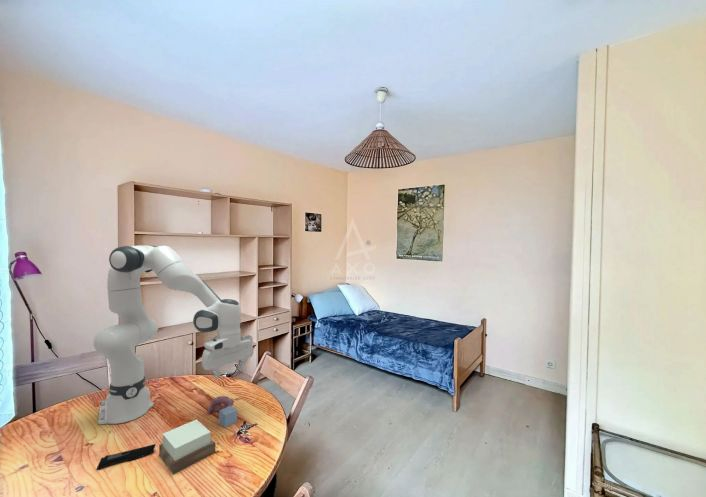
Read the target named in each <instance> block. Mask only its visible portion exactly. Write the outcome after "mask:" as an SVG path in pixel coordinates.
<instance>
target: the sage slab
mask: <svg viewBox="0 0 706 497" xmlns="http://www.w3.org/2000/svg"><path fill="white" fill-rule="evenodd" d="M210 438H211V431H210V430H209V429H208V428H207V427H206V426H204V424H203V423H201V422H200V421H199V420H198V419H197V418H196V419H195V420H192V421H189V422H187V423H185V424H182V425H180V426H178V427H176V428H173V429H170V430H168V431H166V432H163V433H162V442H161V444H162V446H163V447H164V448H165V449H166V451H167V452H168V453H169V455H170V456H171V457H172V458H173V460H174V461H176V460H178V459H180V458H182V457H184V456H186V455H188V454H190V453H192V452H194V451H196V450H198V449H200V448H202V447H204V446H206V445H208V444H210Z"/></svg>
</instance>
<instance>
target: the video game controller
mask: <svg viewBox="0 0 706 497" xmlns="http://www.w3.org/2000/svg"><path fill="white" fill-rule="evenodd" d="M234 403H235V401H234V399H233V398H231V397H229V396H225V395H224V396H223V395H220V396H216V397H214V398H213V399H212V400H211V402H210V404H209V406H208V408H207V410H206V411H207V412H206V414H207V415H209V414H211V413H212V412H213V410H214V409H215V410H214V411H217V412H219V410H221V409H224V408H226V407H228V406H233V405H234ZM222 405H223V406H222Z"/></svg>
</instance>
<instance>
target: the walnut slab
mask: <svg viewBox="0 0 706 497" xmlns="http://www.w3.org/2000/svg"><path fill="white" fill-rule="evenodd" d="M158 447H159V448H158V449H159V450H158V452H159V454H158V456H159V457H160V458H161V460H162V461H163V463H164V464H165V466H166V467H167V468H168V470H169V471H170V472H171V474H172V475H175V474H177V473H179V472H181V471H183V470H185V469H186V468H188V467H190V466H192V465H194V464H196V463H198V462H200V461H202V460H204V459H206V458H208V457H210V456H211V455H213V454H215V453H216V442H215V440H213V439H212V438H211V437H210V444H208V445H206V446H204V447H202V448H200V449H198V450H196V451H194V452H192V453H190V454H188V455H186V456H184V457H182V458H180V459H178V460H176V461H174V460H173V458H172V457H171V456H170V455H169V453H168V452H167V451H166V449H165V448H164V447H163V446H162V443H161V444H160V443H159V446H158Z"/></svg>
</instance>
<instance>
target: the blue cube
mask: <svg viewBox="0 0 706 497" xmlns="http://www.w3.org/2000/svg"><path fill="white" fill-rule="evenodd" d="M237 422H238V409H236V408H235V407H234V406H233V405H232V406H228V407H226V408H224V409H222V408H221V409H220V410H219V411H218V423H219V424H220V425H221V426H222V427H224V428H227V427H230V426H231V425H234V424H236V423H237Z"/></svg>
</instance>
